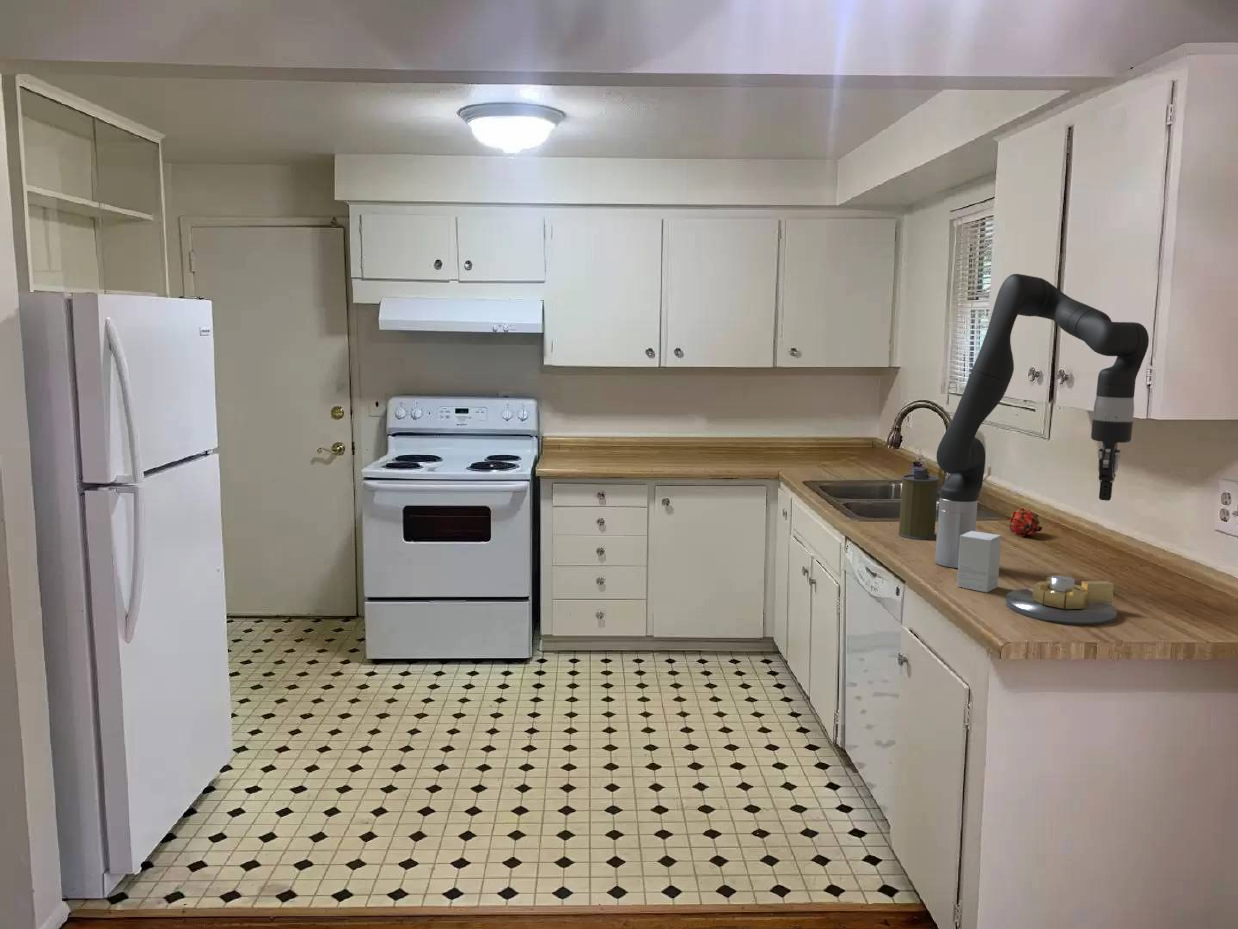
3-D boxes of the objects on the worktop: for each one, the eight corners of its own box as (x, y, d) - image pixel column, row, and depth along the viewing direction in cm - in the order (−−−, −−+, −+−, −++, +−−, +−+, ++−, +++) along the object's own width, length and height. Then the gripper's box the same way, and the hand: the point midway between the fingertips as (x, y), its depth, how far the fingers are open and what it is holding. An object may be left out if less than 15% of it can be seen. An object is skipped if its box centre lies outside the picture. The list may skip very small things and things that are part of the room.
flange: (987, 595, 215) (989, 565, 214) (1078, 594, 217) (1081, 565, 216) (1038, 626, 193) (1041, 593, 192) (1139, 624, 195) (1142, 592, 194)
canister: (930, 541, 268) (935, 472, 265) (893, 536, 274) (898, 468, 271) (939, 534, 277) (943, 467, 274) (903, 529, 283) (907, 464, 280)
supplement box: (998, 587, 222) (1002, 535, 220) (986, 593, 216) (991, 539, 215) (967, 581, 227) (971, 529, 225) (955, 587, 221) (959, 534, 219)
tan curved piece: (1050, 609, 199) (1052, 589, 198) (1024, 594, 209) (1026, 576, 209) (1124, 608, 200) (1125, 589, 200) (1094, 594, 211) (1096, 575, 210)
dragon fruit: (1021, 535, 285) (1028, 550, 274) (998, 518, 285) (1005, 532, 274) (1041, 515, 282) (1049, 529, 271) (1019, 498, 282) (1026, 511, 271)
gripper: (1130, 422, 189) (1122, 506, 191) (1135, 417, 200) (1127, 497, 202) (1089, 419, 193) (1081, 502, 195) (1096, 414, 204) (1088, 493, 206)
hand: (1104, 499), depth 199 cm, fingers closed
